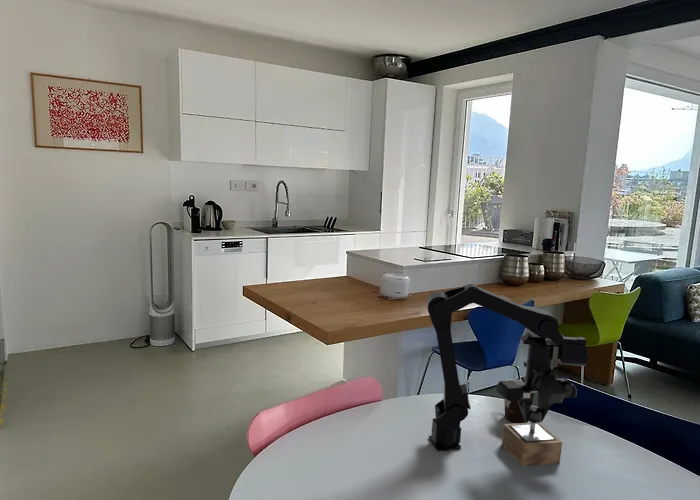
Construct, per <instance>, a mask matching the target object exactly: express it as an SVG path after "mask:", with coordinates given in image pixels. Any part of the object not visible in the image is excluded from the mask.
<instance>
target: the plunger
mask: <svg viewBox="0 0 700 500" xmlns="http://www.w3.org/2000/svg"><path fill="white" fill-rule="evenodd" d="M541 418H542V410H541V409H540V408H538V406H534V405H532V406H530V412H529V420H528V422H529V423H530V425H514V426H511V429H512V430H513V431H514V432H516V433H517V434H518V435H519V436H520V437H521V438H522V439H523V440H524V441H525V442H526V443H530V442H544V441H554V438H553V437H551V436H550V435H549V434H548V433H547V432H546V431H545V430H543V429H542V428H541V427H540V426H539V425H538V424H536V423H540V424H541V423H542V422H541Z"/></svg>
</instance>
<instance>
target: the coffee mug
mask: <svg viewBox="0 0 700 500" xmlns="http://www.w3.org/2000/svg"><path fill="white" fill-rule="evenodd" d="M510 380H511V379H507V380H505V381H510ZM512 380H513V381H514V382H515V383H516V384H518V385H525V383H524V382H523V381H522V379H515V378H514V379H512ZM535 394H536V393H531V394H530V399H532V400H533V401H534V397H535ZM503 399H504V401H503V402H504V417H505V419H506V420H507V421H509V422H510V423H512V424H515V423H526V422H525V421H524V419H523V416H522V413H521V410H520V407H519V404H518V402H517V401H509V400H506V399H505V398H504V397H503ZM530 406H533V402H532V403H531V404H530Z"/></svg>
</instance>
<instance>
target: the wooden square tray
mask: <svg viewBox="0 0 700 500" xmlns="http://www.w3.org/2000/svg"><path fill="white" fill-rule="evenodd" d="M530 423H531V422H528V423H504V424H503V428H502V429H503V430H502V439H501V445H502V446H503V447H504V449H506V451H508V452H509V453H510V455H512V457H513V458H514V459H515V460H516V461H517V462H518V463H519V464H520V466H522V467H527V466H529V467H530V466H541V465H543V466H544V465H553V464H554V465H555V464H560V463H561V455H562V448H563V446H562V445H563V441H561V439H559V438H558V437H557V436H556V435H554V434H553V433H552V432H551V431H550V430H549V429H547V428H546V426H544V425H543V424H541V422H540V423H536V424H538V425H539V426H540V427H541V428H542V429H543V430H545V431H546V432H547V433H548V434H549V435H550V436H551V437H553V438H554V441H544V442H530V443H526V442H525V441H524V440H523V439H522V438H521V437H520V436H519V435H518V434H517V433H516V432H514V431H513V430H512V429H511V426H514V425H530Z"/></svg>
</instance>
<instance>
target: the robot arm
mask: <svg viewBox="0 0 700 500" xmlns="http://www.w3.org/2000/svg"><path fill="white" fill-rule="evenodd" d="M426 300H427V301H426V303H427V304H426V306H427V313H428V314H429V318H430V321H431V323H432V326H433V329H434V331H435V333H436V339H437V346H438V350H439V351H438V352H439V358H440V363H441V368H442V375H443V398H442V399H441V400H440V401H438V402H437V403H435V404H434V413H435V417H433V418H432V420H431V421H432V423H431V435H429V436H428V439H429V441H430V442H431V443H432V445H433V447H434V448H435V449H436V451H438V452H440V451H450V450H451V451H452V450H454V451H455V450H461V449H462V446H461V445H460V443H461V439H462V438H461V435H462V427H461V422H462V421H464V420H465V419H466V418H467V417H468V415H469V410H471V409H472V408H471V404H470V399H469V391H468V387H467V383H463V384H461V382H460V379H459V375H458V368H457V362H456V356H455V350H454V349H455V348H454V345H453V338H452V337H453V336H452V317H453V316H452V314H453V313H454V312H457V311H460V310H461V309H463V308H465V307H467V306H469V305H473V304H475V305H478V306H480V307H482V308H485V309H487V310H489V311H492V312H494V313H497V314H498V315H501V316H503V317H506V318H508V319H511V320H513V321H516V322H517V323H518V324H520V325H522V326H523V328H526V329H527V330H529V331H530V332H531V333H533V334H535V335H532V334H531V333H530V332H528V331H527V333H526V334H524V335H522V336H521V337H520V341H521V343H522V344H524V345H528V346H527V348H528V349H527V356H526V357H527V360H526V361H523V366H524V367H525V376H523V377H521V380H522V381H523V382H524V383H525V385H518V384H516V383H515V382H514V381H513V379H509V380H510V381H506V380H500V381H498V383H497V384H496V392H497V393H498V394H499V395H501V396H502V397H503V399H504V398H505V399H506V400H509V401H517V402H518V404H519V407H520V410H521V413H522V416H523V419H524V421H525V422H526V423H529V421H528V420H529V412H530V404H531V403H532V404H533V403H534V399H533V400H532V399H530V394H531V393H535V394H536V393H537V407H538V408H540V409H541V410H542V418H541V422H540V423H542V422H543V421H544V419H545V417H546V416H547V413H548V412H549V410H550V408H551V407H552V406H553V404H562V403H563V400H564V399H570V398H571V399H572V398H573V399H574V398H577V393H578V392H577V391H578V390H577V387H576V385H575V384H573V383H571V381H570V380H567V379H565V378H563V377H562V378H556V371H555V369H554V367H552V366H553V357H554V360H557V361H558V363H559V365H565V366H566V365H567V366H575V367H576V366H577V367H578V366H579V367H586V366H587V364H588V362H589V354H588V347H587V339H585V337H582V336H575V337H572V336H564V335H563V334H562V333H561V332H560V331H559V326H560V325H559V322H558V320H557V318H556V317H554V315H553V314H552V313H551V312H549V310H547V309H544V308H540V307H536V306H531V305H530V306H529V305H523V304H520V303H517V302H515V301H512V300H511V299H507V298H505V297H502V296H501V295H498V294H496V293H493V292H492V291H488V290H487V289H484V288H482V287H480V286H478V285H477V284H475V283H468V284H466V285H463V286H461V287H456V288H452V289H448V290H446V291H435V292H432V293H430V295H428V298H427V299H426Z"/></svg>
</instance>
